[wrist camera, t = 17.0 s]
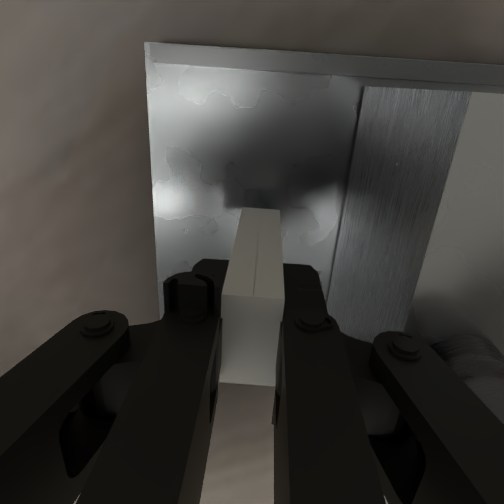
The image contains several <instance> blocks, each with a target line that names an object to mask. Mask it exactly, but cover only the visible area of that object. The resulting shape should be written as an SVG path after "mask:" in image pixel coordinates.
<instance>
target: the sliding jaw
mask: <svg viewBox="0 0 504 504" xmlns="http://www.w3.org/2000/svg"><path fill="white" fill-rule="evenodd" d="M327 311H328V314H329V315H330V316H331V317H333V318H334V319H335V320H336V322H337V324H338V325H339V328H340V331H341V332H342V333H344V334H346V335H348V336H350V337H353V338H356V339H359V340H362V341H366V342H369V343H373V341H374V338H375V337H376V336H377V335H378V334H379V333H382V332H386V331H400V332H404V333H408V334H411V335H413V336H415V337H417V338H419V339H421V340H423V341H424V342H425V343H427V344H428V345H429V346H430V347H431V348H432V349H433V350H434V351H435V352H436V353H437V354H438V355H439V356H440V357H441V358H442V359H443V360H444V361H445V362H446V364H447V365H448V366H449V367H450V368H451V369H452V370H453V371H454V372H455V373H456V374H457V375H458V376H459V377H460V378H461V380H462V381H463V382H464V383H465V384H466V385H467V386H468V387H469V388H470V389H471V390H472V391H473V392H474V393H475V394H476V395H477V397H478V398H479V399H480V400H481V401H482V402H483V403H484V404H485V405H486V406H487V407H488V408H489V409H490V410H491V411H492V412H493V414H494V415H495V416H496V417H497V418H498V419H499V420H500V421H501V422H502V423H503V424H504V94H497V93H481V92H465V91H445V90H426V89H407V88H387V87H368V86H365V87H364V93H363V99H362V104H361V110H360V116H359V122H358V128H357V133H356V139H355V145H354V151H353V156H352V162H351V168H350V174H349V180H348V185H347V191H346V197H345V203H344V208H343V214H342V220H341V226H340V232H339V237H338V243H337V249H336V255H335V261H334V266H333V272H332V278H331V284H330V289H329V295H328V301H327ZM384 498H385V496H384ZM385 501H386V504H388V502H387V500H386V498H385Z"/></svg>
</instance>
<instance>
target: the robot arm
mask: <svg viewBox="0 0 504 504" xmlns="http://www.w3.org/2000/svg"><path fill="white" fill-rule="evenodd" d="M163 295H164V315H163V317H162V319H161V320H159V321H156V322H153V323H147V324H141V325H133V326H129V323H128V319H127V318H126V317H125V316H124V315H123V314H121V313H119V312H116V311H108V310H103V311H94V312H91V313H88V314H84V315H82V316H80V317H78V318H77V319H75V320H73V321H72V322H71V323H69V324H68V325H67V326H65V327H64V328H63V329H62V330H60V331H59V332H58V333H56V334H55V335H54V336H53V337H51V338H50V339H49V340H48V341H46V342H45V343H44V344H42V345H41V346H40V347H39V348H37V349H36V350H35V351H33V352H32V353H31V354H30V355H28V356H27V357H26V358H25V359H23V360H22V361H21V362H19V363H18V364H17V365H16V366H14V367H13V368H12V369H10V370H9V371H8V372H7V373H5V374H4V375H3V376H1V377H0V504H73V503H74V501H75V500H76V499H77V497H78V496H79V495H80V496H79V498H78V500H77V503H76V504H199V503H200V497H201V491H202V485H203V479H204V474H205V468H206V462H207V456H208V450H209V444H210V439H211V433H212V427H213V421H214V415H215V409H216V404H217V395H218V379H219V382H224V383H237V384H249V385H261V386H274V387H275V383H276V389H275V398H274V407H273V416H272V424H274V504H386V501H385V498H386V500H387V502H388V504H504V424H503V423H502V422H501V421H500V420H499V419H498V418H497V417H496V416H495V415H494V414H493V412H492V411H491V410H490V409H489V408H488V407H487V406H486V405H485V404H484V403H483V402H482V401H481V400H480V399H479V398H478V397H477V395H476V394H475V393H474V392H473V391H472V390H471V389H470V388H469V387H468V386H467V385H466V384H465V383H464V382H463V381H462V380H461V378H460V377H459V376H458V375H457V374H456V373H455V372H454V371H453V370H452V369H451V368H450V367H449V366H448V365H447V364H446V362H445V361H444V360H443V359H442V358H441V357H440V356H439V355H438V354H437V353H436V352H435V351H434V350H433V349H432V348H431V347H430V346H429V345H428V344H427V343H425V342H424V341H423V340H421V339H419V338H417V337H415V336H413V335H411V334H408V333H404V332H400V331H386V332H382V333H379V334H378V335H377V336H376V337H375V338H374V341H373V343H369V342H366V341H362V340H359V339H356V338H353V337H350V336H348V335H346V334H344V333H342V332H341V331H340V328H339V325H338V324H337V322H336V320H335V319H334V318H333V317H331V316H330V315H329V314H328V311H327V307H326V303H325V298H324V294H323V291H322V286H321V283H320V277H319V273H318V272H317V271H316V270H315V269H314V268H313V267H312V266H311V265H303V264H289V263H283V258H282V240H281V222H280V210H275V209H261V208H247V207H242V211H241V215H240V219H239V223H238V227H237V232H236V236H235V240H234V244H233V248H232V252H231V256H230V260H220V259H206V258H203V259H202V260H200V261H199V262H198V263H196V264H195V265H194V266H193V269H192V271H191V272H182V273H177V274H174V275H172V276H170V277H168V278H167V279H166V280H165V281H164V282H163ZM80 493H81V494H80ZM384 496H385V498H384Z"/></svg>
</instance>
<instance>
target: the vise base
mask: <svg viewBox="0 0 504 504" xmlns="http://www.w3.org/2000/svg"><path fill="white" fill-rule="evenodd" d="M144 48H145V66H146V84H147V102H148V119H149V137H150V155H151V173H152V191H153V209H154V226H155V244H156V262H157V280H158V298H159V316H160V320H161V319H162V317H163V315H164V295H163V282H164V281H165V280H166V279H167V278H168V277H170V276H172V275H174V274H177V273H182V272H191V271H192V269H193V266H194V265H195V264H196V263H198V262H199V261H200V260H202V259H203V258H206V259H220V260H230V256H231V252H232V248H233V244H234V240H235V236H236V232H237V227H238V223H239V219H240V215H241V211H242V207H247V208H261V209H275V210H280V222H281V240H282V258H283V263H289V264H303V265H311V266H312V267H313V268H314V269H315V270H316V271H317V272H318V273H319V277H320V283H321V286H322V291H323V294H324V298H325V303H326V307H327V301H328V295H329V289H330V284H331V278H332V272H333V266H334V261H335V255H336V249H337V243H338V237H339V232H340V226H341V220H342V214H343V208H344V203H345V197H346V191H347V185H348V180H349V174H350V168H351V162H352V156H353V151H354V145H355V139H356V133H357V128H358V122H359V116H360V110H361V104H362V99H363V93H364V87H365V86H368V87H387V88H407V89H426V90H445V91H465V92H481V93H497V94H504V65H497V64H482V63H466V62H451V61H435V60H420V59H404V58H389V57H373V56H358V55H342V54H327V53H311V52H296V51H280V50H265V49H250V48H234V47H219V46H203V45H188V44H172V43H157V42H144Z"/></svg>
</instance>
